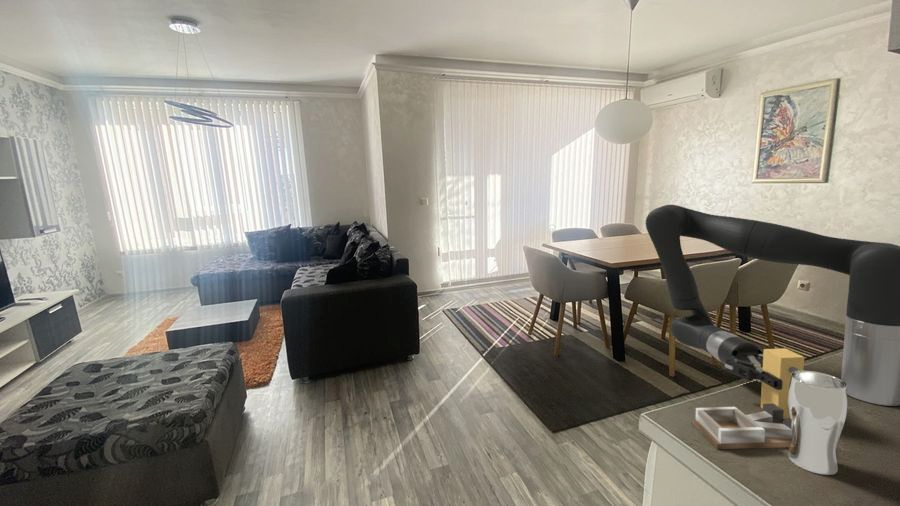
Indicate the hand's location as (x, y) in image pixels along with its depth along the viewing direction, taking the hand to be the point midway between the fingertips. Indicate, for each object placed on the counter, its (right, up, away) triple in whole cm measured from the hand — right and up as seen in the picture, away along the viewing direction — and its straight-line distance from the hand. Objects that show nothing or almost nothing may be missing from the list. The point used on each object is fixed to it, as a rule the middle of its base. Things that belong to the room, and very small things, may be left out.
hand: (793, 384), depth 74 cm
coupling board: (-11, -9, -3) cm, 14 cm away
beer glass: (-7, -10, -11) cm, 16 cm away
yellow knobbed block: (+1, -7, +4) cm, 8 cm away
